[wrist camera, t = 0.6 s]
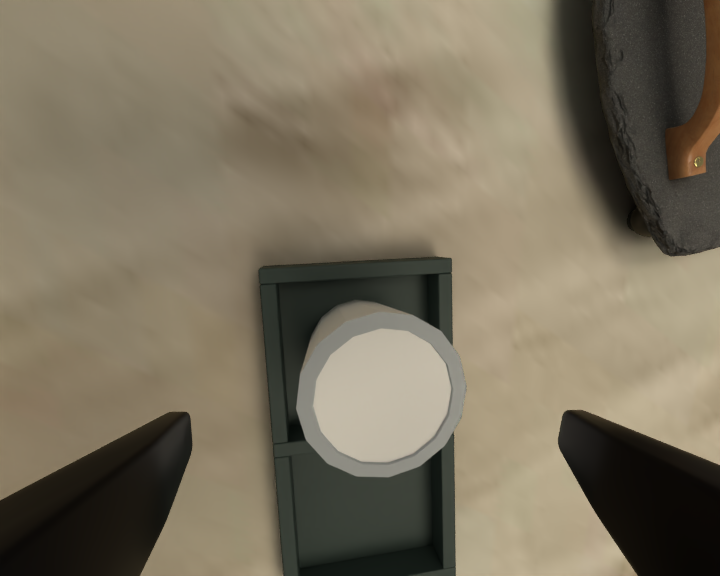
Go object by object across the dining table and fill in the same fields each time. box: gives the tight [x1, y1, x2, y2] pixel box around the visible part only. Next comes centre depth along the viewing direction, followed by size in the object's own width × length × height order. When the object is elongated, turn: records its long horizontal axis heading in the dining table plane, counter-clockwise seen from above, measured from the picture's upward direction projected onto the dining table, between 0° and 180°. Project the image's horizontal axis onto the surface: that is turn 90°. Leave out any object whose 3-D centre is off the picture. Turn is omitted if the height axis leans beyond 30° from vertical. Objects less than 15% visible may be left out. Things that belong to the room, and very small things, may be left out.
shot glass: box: [296, 300, 467, 477], centre depth 17 cm, size 7×7×7 cm
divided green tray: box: [259, 257, 456, 576], centre depth 21 cm, size 19×10×2 cm, turn 3°
